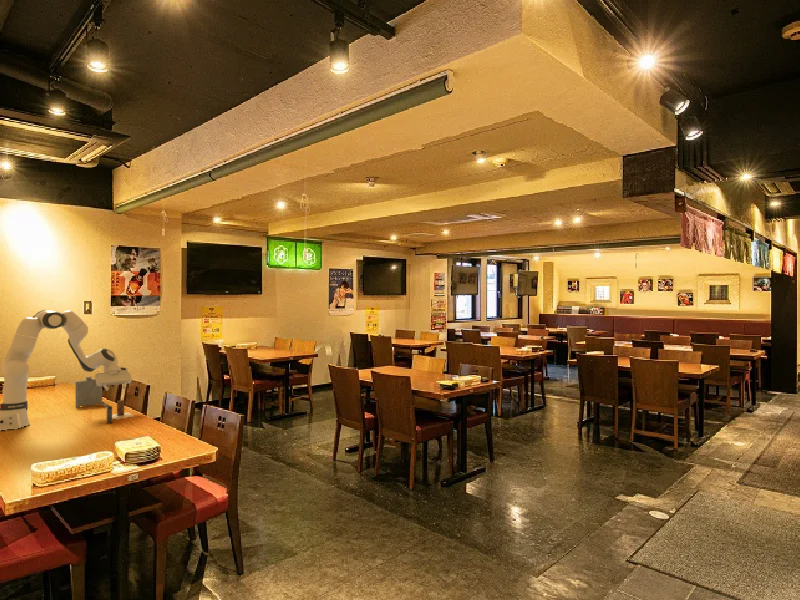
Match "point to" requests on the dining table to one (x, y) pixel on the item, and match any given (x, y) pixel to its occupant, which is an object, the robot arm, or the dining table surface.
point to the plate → (122, 416)
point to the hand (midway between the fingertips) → (116, 389)
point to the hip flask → (88, 392)
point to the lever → (108, 412)
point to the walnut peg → (120, 408)
